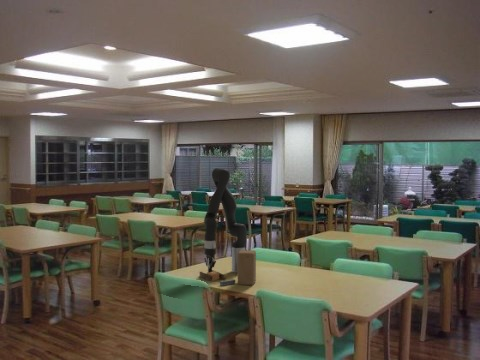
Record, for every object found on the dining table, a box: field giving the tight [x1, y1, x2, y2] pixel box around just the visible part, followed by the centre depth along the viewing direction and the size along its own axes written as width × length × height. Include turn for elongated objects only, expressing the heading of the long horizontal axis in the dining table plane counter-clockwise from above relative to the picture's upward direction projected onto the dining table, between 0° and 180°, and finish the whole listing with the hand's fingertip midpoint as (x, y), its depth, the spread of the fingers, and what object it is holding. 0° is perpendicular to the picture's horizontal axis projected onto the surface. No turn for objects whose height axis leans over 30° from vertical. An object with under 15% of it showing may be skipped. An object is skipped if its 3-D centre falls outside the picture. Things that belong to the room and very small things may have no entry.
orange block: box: [205, 271, 220, 281], centre depth 309 cm, size 6×6×4 cm
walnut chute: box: [199, 269, 225, 282], centre depth 312 cm, size 10×16×3 cm, turn 31°
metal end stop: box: [219, 279, 236, 287], centre depth 294 cm, size 10×2×2 cm, turn 121°
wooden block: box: [237, 249, 257, 286], centre depth 297 cm, size 10×10×20 cm
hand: (210, 273), depth 313 cm, fingers closed
